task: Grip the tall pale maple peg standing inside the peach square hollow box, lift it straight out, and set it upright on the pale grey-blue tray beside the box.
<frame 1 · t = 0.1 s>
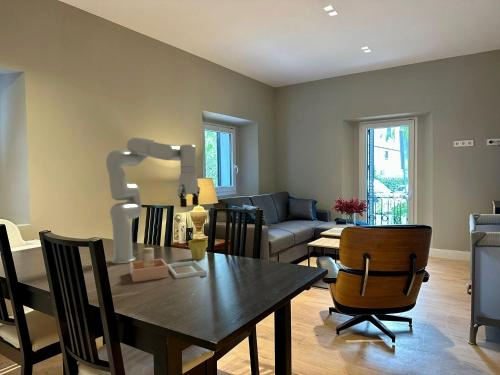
hand: (189, 206, 167), 31 cm above the table, tool pointing down, fingers open, 9 cm apart
grey tray: (186, 272, 164), on the table
peach square hollow box: (148, 277, 158), on the table
maple peg: (148, 274, 158), point 1 cm above the table, touching peach square hollow box
plant pot: (198, 258, 191), on the table
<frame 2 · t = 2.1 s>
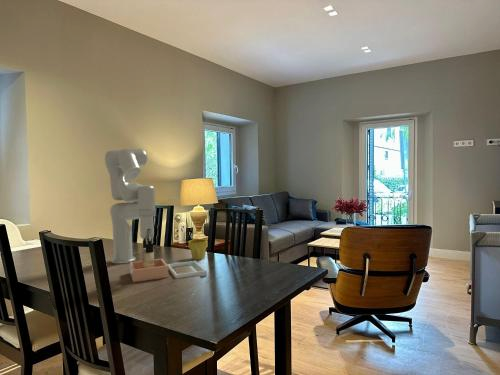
hand: (148, 250, 157), 12 cm above the table, tool pointing down, fingers open, 9 cm apart
nothing on the table moved.
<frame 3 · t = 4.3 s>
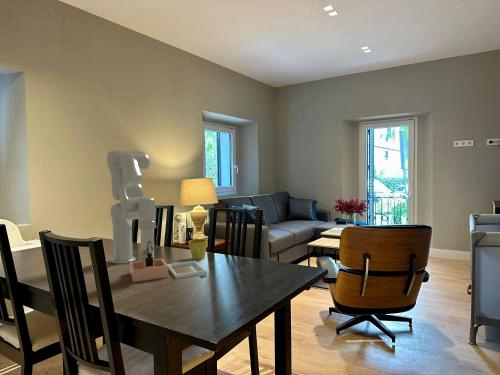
hand: (148, 264, 157), 6 cm above the table, tool pointing down, fingers closed on maple peg, 5 cm apart
maple peg: (148, 274, 158), point 1 cm above the table, touching gripper, peach square hollow box
everything else where it was.
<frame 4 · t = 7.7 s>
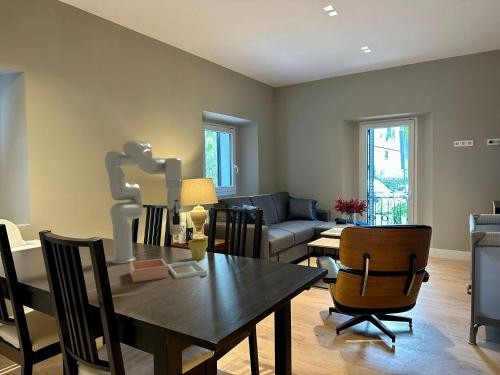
hand: (175, 223, 161), 24 cm above the table, tool pointing down, fingers closed on maple peg, 5 cm apart
maple peg: (175, 234, 161), point 19 cm above the table, touching gripper
everything else where it was.
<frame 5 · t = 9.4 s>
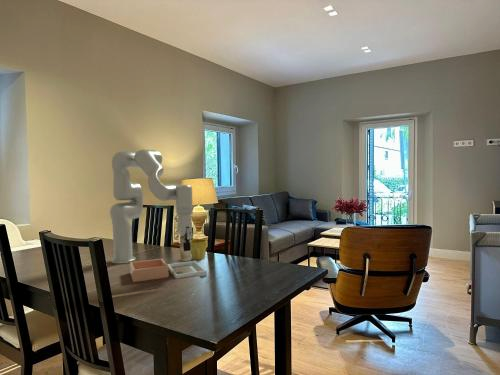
hand: (185, 249, 163), 11 cm above the table, tool pointing down, fingers closed on maple peg, 5 cm apart
maple peg: (185, 259, 163), point 6 cm above the table, touching gripper
everything else where it was.
when the fingers open (7 cm above the table, at t = 11.1 s): maple peg drops 1 cm, resting on grey tray.
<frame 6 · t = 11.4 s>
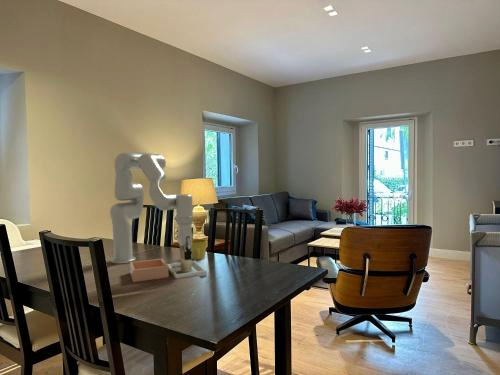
hand: (185, 257, 163), 7 cm above the table, tool pointing down, fingers open, 7 cm apart
maple peg: (186, 271, 164), point 1 cm above the table, touching grey tray
everything else where it was.
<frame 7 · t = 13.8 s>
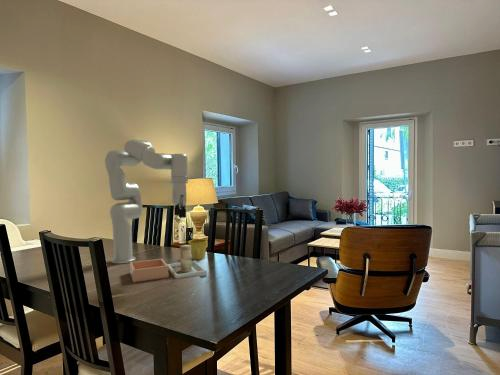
hand: (180, 216, 163), 27 cm above the table, tool pointing down, fingers open, 9 cm apart
nothing on the table moved.
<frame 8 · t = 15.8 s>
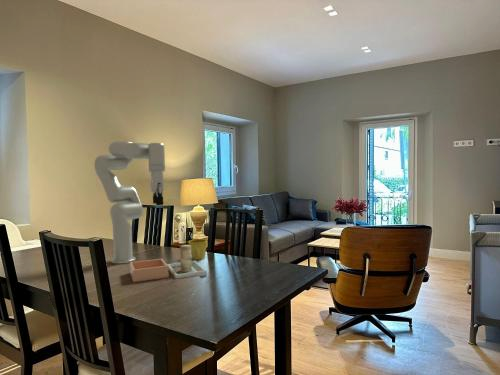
hand: (158, 204, 167), 32 cm above the table, tool pointing down, fingers open, 9 cm apart
nothing on the table moved.
at the end: maple peg inside the target area on the grey tray (0.0 cm from its centre), point 0.6 cm above the grey tray's base; maple peg tilted 1°; the gripper is holding nothing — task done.
